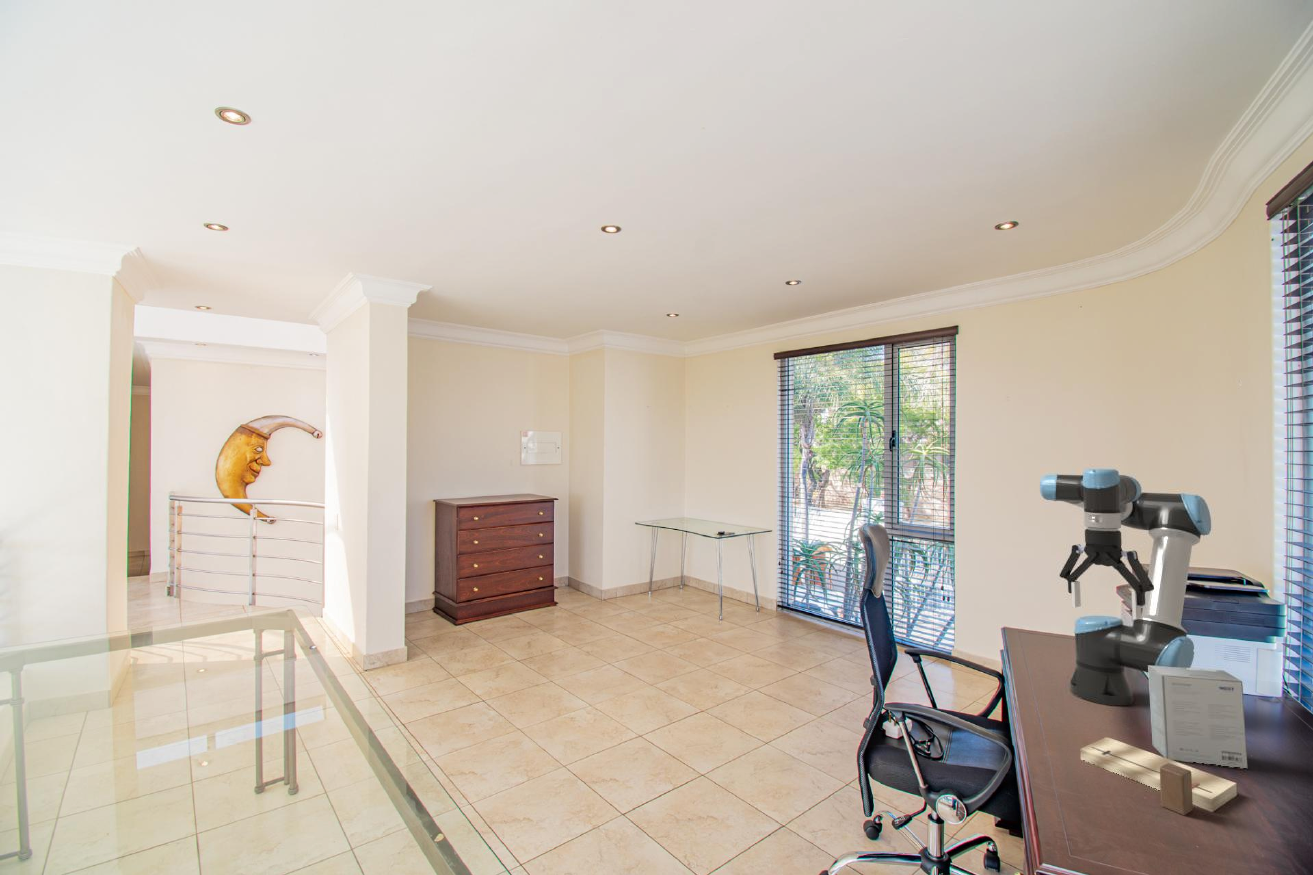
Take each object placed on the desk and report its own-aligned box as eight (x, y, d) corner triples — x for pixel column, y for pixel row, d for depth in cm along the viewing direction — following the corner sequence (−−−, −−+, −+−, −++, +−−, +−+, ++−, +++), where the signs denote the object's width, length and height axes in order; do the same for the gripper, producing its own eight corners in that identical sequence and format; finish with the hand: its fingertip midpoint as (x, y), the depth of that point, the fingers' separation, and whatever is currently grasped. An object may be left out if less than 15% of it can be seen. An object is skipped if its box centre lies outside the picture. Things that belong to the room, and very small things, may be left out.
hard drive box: (1229, 754, 142) (1225, 670, 143) (1249, 770, 135) (1245, 681, 136) (1150, 745, 148) (1147, 663, 148) (1165, 760, 140) (1162, 674, 141)
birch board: (1080, 759, 141) (1080, 748, 141) (1106, 747, 147) (1106, 736, 147) (1212, 812, 120) (1211, 798, 120) (1236, 795, 126) (1236, 782, 126)
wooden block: (1184, 816, 118) (1183, 775, 119) (1160, 806, 122) (1158, 766, 122) (1193, 810, 120) (1192, 770, 121) (1169, 800, 124) (1167, 761, 124)
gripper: (1043, 525, 162) (1046, 603, 161) (1154, 535, 140) (1157, 626, 140) (1058, 523, 166) (1061, 600, 165) (1169, 533, 144) (1172, 621, 143)
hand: (1105, 612), depth 152 cm, fingers open, 13 cm apart
